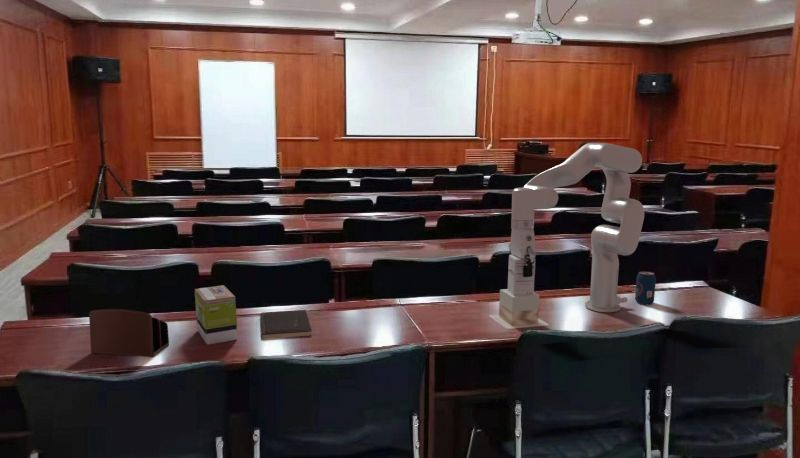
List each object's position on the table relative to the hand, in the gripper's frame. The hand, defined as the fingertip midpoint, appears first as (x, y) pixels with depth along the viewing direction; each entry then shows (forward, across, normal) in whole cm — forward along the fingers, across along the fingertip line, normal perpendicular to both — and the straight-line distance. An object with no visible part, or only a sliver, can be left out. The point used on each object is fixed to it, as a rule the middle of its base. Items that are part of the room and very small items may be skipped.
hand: (520, 273), depth 212 cm
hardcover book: (+18, +17, +79) cm, 83 cm away
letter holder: (+17, +7, +126) cm, 128 cm away
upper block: (+12, 0, 0) cm, 12 cm away
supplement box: (+7, 0, 0) cm, 7 cm away
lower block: (+17, 0, 0) cm, 17 cm away
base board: (+18, 0, 0) cm, 18 cm away
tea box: (+17, +13, +102) cm, 104 cm away
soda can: (+19, +10, -58) cm, 62 cm away
